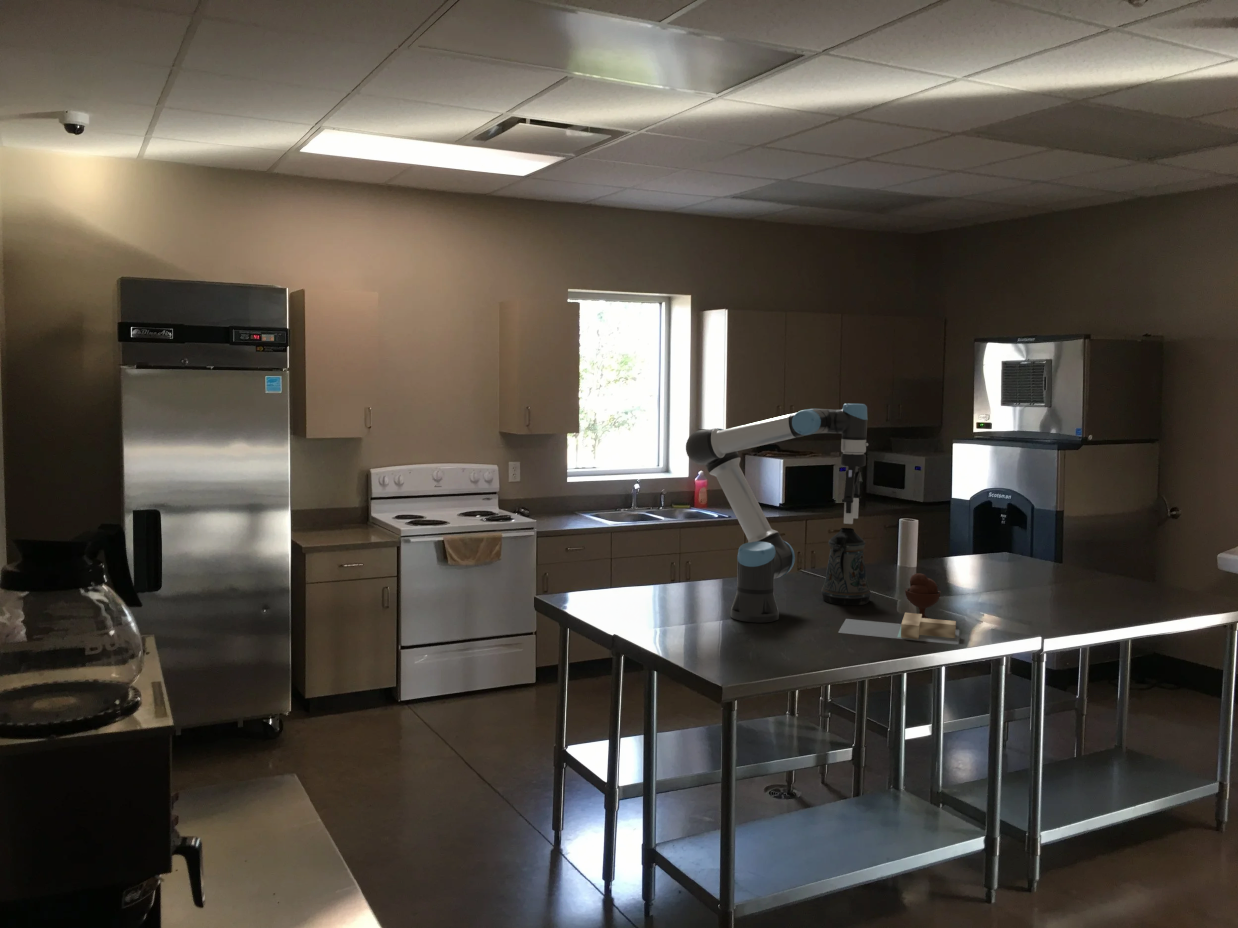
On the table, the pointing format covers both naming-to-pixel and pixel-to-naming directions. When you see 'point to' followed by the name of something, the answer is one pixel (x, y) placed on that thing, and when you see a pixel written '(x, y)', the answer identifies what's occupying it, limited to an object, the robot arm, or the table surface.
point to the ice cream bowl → (922, 592)
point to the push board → (888, 631)
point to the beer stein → (846, 570)
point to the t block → (926, 627)
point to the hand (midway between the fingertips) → (851, 520)
